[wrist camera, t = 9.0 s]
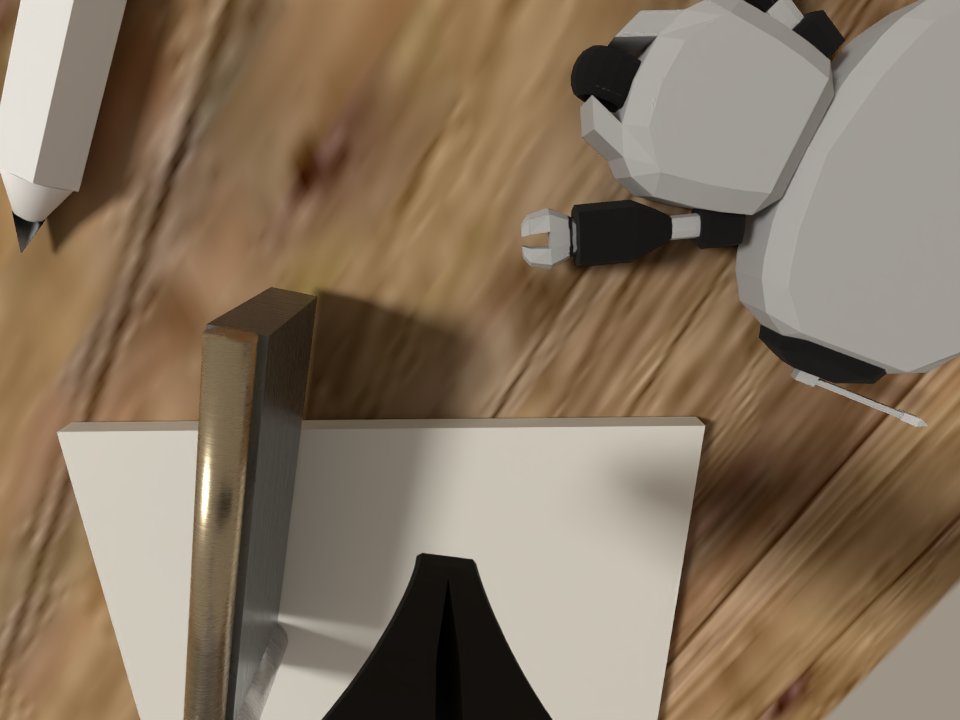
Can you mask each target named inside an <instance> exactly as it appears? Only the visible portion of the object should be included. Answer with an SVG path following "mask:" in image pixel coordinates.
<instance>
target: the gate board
mask: <svg viewBox="0 0 960 720" xmlns="http://www.w3.org/2000/svg"><path fill="white" fill-rule="evenodd" d="M198 423H199V421H152V422H72V423H70V424H69V425H67V426H66V427H64V428H62V429H61V430H59V431H58V432H57V434H58V437H59V441H60V444H61V448H62V451H63V455H64V458H65V461H66V465H67V468H68V472H69V475H70V479H71V482H72V486H73V489H74V492H75V496H76V499H77V503H78V506H79V510H80V513H81V517H82V520H83V523H84V527H85V530H86V534H87V537H88V541H89V544H90V548H91V551H92V554H93V558H94V561H95V565H96V568H97V572H98V575H99V579H100V582H101V585H102V589H103V592H104V596H105V599H106V603H107V606H108V610H109V613H110V616H111V620H112V623H113V627H114V630H115V634H116V637H117V641H118V644H119V647H120V651H121V654H122V658H123V661H124V665H125V668H126V672H127V675H128V678H129V682H130V685H131V689H132V692H133V696H134V699H135V703H136V706H137V709H138V713H139V716H140V720H183V717H184V697H185V678H186V658H187V639H188V619H189V599H190V580H191V560H192V541H193V521H194V501H195V482H196V462H197V443H198ZM704 430H705V425H704V424H703V423H702V422H701V421H700V420H699V419H698V418H697V417H595V418H484V419H374V420H302V426H301V434H300V442H299V451H298V459H297V467H296V475H295V484H294V492H293V500H292V508H291V517H290V525H289V533H288V541H287V550H286V558H285V566H284V574H283V583H282V591H281V599H280V607H279V616H278V621H277V623H278V624H279V625H281V626H282V627H283V629H284V630H285V631H286V633H287V636H288V645H287V648H286V651H285V653H284V656H283V659H282V661H281V664H280V667H279V669H278V672H277V675H276V678H275V680H274V683H273V686H272V688H271V691H270V694H269V696H268V699H267V702H266V704H265V707H264V710H263V712H262V715H261V718H260V720H322V718H323V717H324V716H325V715H326V713H327V712H328V711H329V710H330V709H331V707H332V706H333V705H334V703H335V702H336V701H337V700H338V698H339V697H340V696H341V694H342V693H343V692H344V691H345V689H346V688H347V687H348V685H349V684H350V683H351V681H352V680H353V678H354V677H355V676H356V674H357V673H358V671H359V670H360V669H361V667H362V666H363V664H364V663H365V661H366V660H367V658H368V657H369V655H370V654H371V652H372V651H373V649H374V647H375V646H376V644H377V642H378V641H379V639H380V637H381V636H382V634H383V632H384V631H385V629H386V627H387V626H388V624H389V622H390V620H391V619H392V617H393V615H394V613H395V611H396V609H397V607H398V605H399V603H400V601H401V599H402V597H403V595H404V593H405V590H406V588H407V586H408V583H409V581H410V578H411V576H412V573H413V570H414V566H415V561H416V556H417V555H419V554H421V553H428V554H436V555H444V556H452V557H460V558H467V559H473V560H474V561H475V563H476V564H477V568H478V572H479V575H480V578H481V581H482V584H483V587H484V589H485V592H486V595H487V597H488V600H489V602H490V605H491V607H492V610H493V612H494V615H495V617H496V619H497V621H498V623H499V626H500V628H501V630H502V632H503V634H504V636H505V639H506V641H507V643H508V645H509V647H510V649H511V651H512V653H513V654H514V656H515V658H516V660H517V662H518V664H519V666H520V668H521V669H522V671H523V673H524V675H525V677H526V678H527V680H528V682H529V683H530V685H531V687H532V688H533V690H534V692H535V693H536V695H537V696H538V698H539V700H540V701H541V703H542V704H543V706H544V708H545V709H546V711H547V712H548V713H549V715H550V716H551V718H552V719H553V720H657V719H658V713H659V707H660V700H661V694H662V688H663V682H664V676H665V670H666V664H667V657H668V651H669V645H670V639H671V633H672V627H673V621H674V614H675V608H676V602H677V596H678V590H679V584H680V578H681V571H682V565H683V559H684V553H685V547H686V541H687V535H688V528H689V522H690V516H691V510H692V504H693V498H694V492H695V485H696V479H697V473H698V467H699V461H700V455H701V448H702V442H703V436H704Z"/></svg>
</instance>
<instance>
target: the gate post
mask: <svg viewBox="0 0 960 720" xmlns="http://www.w3.org/2000/svg"><path fill="white" fill-rule="evenodd" d="M287 645H288V636H287V633H286V631H285V630H284V629H283V627H282V626H281V625H279V624H278V623H277V624H276V626H275V628H274V631H273V633H272V636H271V638H270V641H269V643H268V645H267V648H266V650H265V653H264V655H263V657H262V660H261V662H260V665H259V667H258V669H257V672H256V674H255V677H254V679H253V681H252V684H251V686H250V689H249V691H248V693H247V696H246V698H245V701H244V703H243V705H242V708H241V710H240V713H239V715H238V717H237V720H260V718H261V715H262V712H263V710H264V707H265V704H266V702H267V699H268V696H269V694H270V691H271V688H272V686H273V683H274V680H275V678H276V675H277V672H278V669H279V667H280V664H281V661H282V659H283V656H284V653H285V651H286V648H287Z"/></svg>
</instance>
